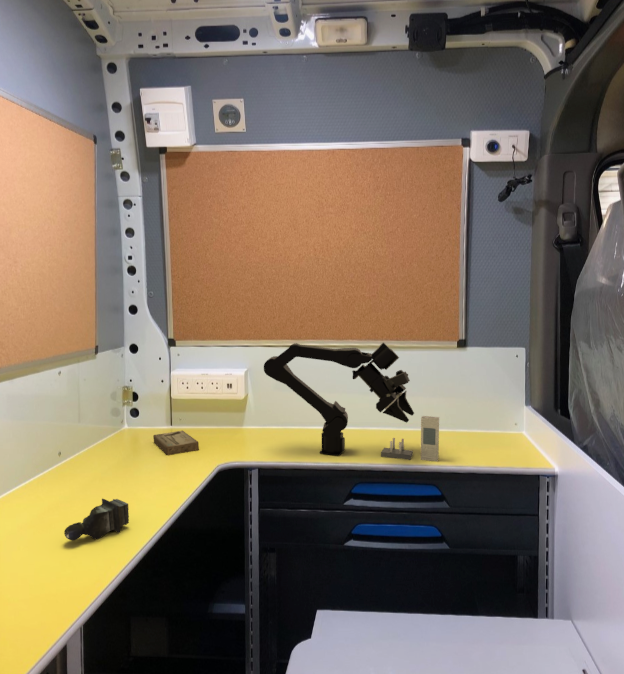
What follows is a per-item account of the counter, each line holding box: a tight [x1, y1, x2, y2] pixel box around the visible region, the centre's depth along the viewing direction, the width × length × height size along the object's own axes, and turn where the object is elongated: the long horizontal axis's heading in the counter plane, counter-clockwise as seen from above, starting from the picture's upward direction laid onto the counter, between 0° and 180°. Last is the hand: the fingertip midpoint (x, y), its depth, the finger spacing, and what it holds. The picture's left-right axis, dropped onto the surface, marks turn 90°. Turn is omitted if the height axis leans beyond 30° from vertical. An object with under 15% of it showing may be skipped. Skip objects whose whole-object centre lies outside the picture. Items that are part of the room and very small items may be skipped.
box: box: [153, 430, 200, 456], centre depth 179 cm, size 11×17×3 cm, turn 30°
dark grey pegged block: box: [380, 437, 414, 461], centre depth 167 cm, size 9×5×5 cm, turn 70°
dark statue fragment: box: [63, 498, 130, 541], centre depth 114 cm, size 6×13×6 cm, turn 147°
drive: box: [420, 415, 440, 463], centre depth 163 cm, size 5×2×13 cm, turn 70°
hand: (410, 417), depth 165 cm, fingers open, 9 cm apart
